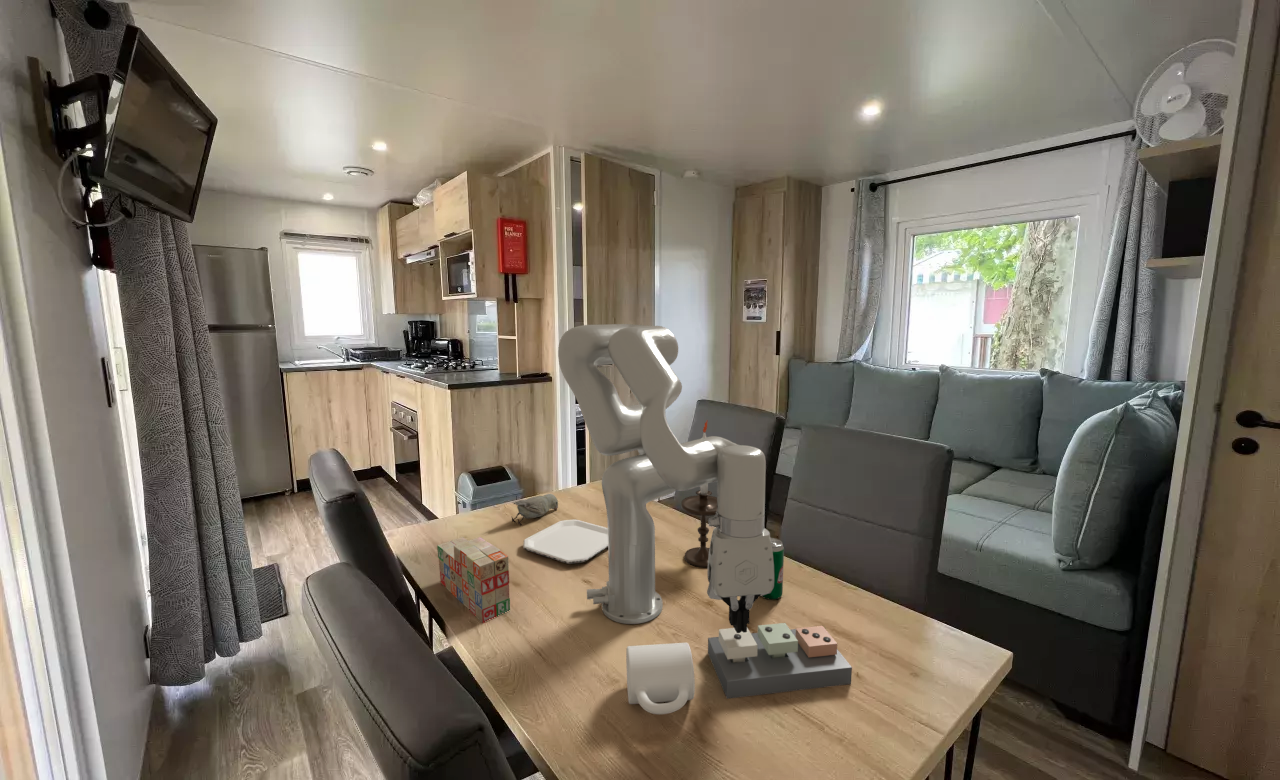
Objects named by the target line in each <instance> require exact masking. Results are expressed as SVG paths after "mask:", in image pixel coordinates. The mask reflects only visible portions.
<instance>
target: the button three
mask: <svg viewBox="0 0 1280 780" xmlns="http://www.w3.org/2000/svg"><path fill="white" fill-rule="evenodd" d="M795 629H796V636H795V637H796V639H797V640H798V643H799V645H800V646H801V647H802V649H803V650H804V652H805V653H806V654H807V656H808V657H818V656H827V655H837V649H838V642H837V641H836V640H835V639H834V637H833V636H832V635H831V634H830V632H829V631H827V629H826V628H825V627H824V626H823V625H817V626H806V627H804V626H803V627H797V628H795Z"/></svg>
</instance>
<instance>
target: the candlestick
mask: <svg viewBox="0 0 1280 780" xmlns="http://www.w3.org/2000/svg"><path fill="white" fill-rule="evenodd" d="M707 428H708V419H706V422H704V426H703V429H702V431H703V432H702V437H701V438H700V439H702V438H706V437H707V434H706V432H707ZM708 489H709V483H707V484H704V485H701V486H699V490H696V491H695V494H696V495H690V496H688V497H685V498H683V499H682V500H681V503H680V508H681V509H682V511H684V512H686V513H688V514H691V515H694V516H700V526H699V527H698V528H697V532H698V534H699V537H698V542H699V544H700V546H697V547H691V548H689V549H687V550H686V551H685V552H684V560H685V562H686V563H687V564H688V565H690V566H692V567H695V568H703V569H708V557H709V549H710V547H707V542H708V541H709V538H708V537H707V536H708V534H709V533H710V528H709V527H707V517H711V516H713V517H714V516H715V515H716V511H717V496H712V494H713V493H712V491H711V490H708Z"/></svg>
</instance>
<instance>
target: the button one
mask: <svg viewBox="0 0 1280 780" xmlns="http://www.w3.org/2000/svg"><path fill="white" fill-rule="evenodd" d="M751 633H752V632H751V631H750V630H749V628H748V627H747V632H744V633H743V632H742V631H741V632H740V633H737V632H736V630H735V629H734V627H729V628H720V629H718V637H719V642H720V644H721V646H722V648H723V650H724V653H725V655H726V657H727V659H730V661H731V663H736V662H745V657H755V656H757V643H756V642H755V640H754V638H753V636H752V635H751Z"/></svg>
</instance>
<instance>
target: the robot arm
mask: <svg viewBox="0 0 1280 780" xmlns="http://www.w3.org/2000/svg"><path fill="white" fill-rule="evenodd" d="M678 354H679V344H678V341H677V339H676V336H675V335H674V334H673V332H672V331H671V330H669V329H668V328H667V327H665V326H662V325H644V324H643V325H642V324H631V323H613V324H612V323H611V324H610V323H609V324H608V323H607V324H606V323H605V324H584V325H582V324H581V325H578V326H575V327H572V328H569V329H568V330H566V331H565V332H564V333H563V334H562V336H561V337H560V340H559V343H558V348H557V358H558V365H559V367H560V372H561V373H562V376H563V378H564V379H565V381H566V383H567V384H568V387H569V388H570V390H571V391H572V392H571V393H572V394H573V395H574V397H575V399H576V401H577V403H578V406H579V409H580V412H581V414H582V417H583V420H584V423H585V425H586V428H587V430H588V434H589V435H590V438H591V440H592V444H593V445H594V447H595V449H596V450H597V452H598V453H599V454H600V455H602V456H607V457H608V456H609V457H612V456H618V455H622V454H627V453H629V452H634V451H637V452H638V455H633V456H630V457H626V458H622V459H620V460H617V461H615V462H613V463H611V464H609V465H608V467H606V469H605V470H604V472H603V474H602V477H601V490H602V492H603V493H602V494H603V498H604V503H605V509H606V517H607V519H606V520H607V528H608V547H607V549H608V556H607V557H608V580H606V582H605V583H606V586H602V587H601V588H589V589H586V599H587V600H593V603H592V604H593V605H600V604H601V610H602V612H603V614H604V615H605V616H606V617H607V619H609V620H612V621H614V622H617V623H620V624H625V625H626V624H627V625H637V624H643V623H647V622H650V621H651V620H653V619H655V618H657V617H658V616H659V615H660V614H661V612H662V611H663V605H664V604H663V599H662V596H661V595H660V594H659V593H658V592H657V591H656V535H655V534H656V532H655V531H656V529H655V527H656V526H655V521H654V519H653V517H652V515H651V513H650V512H649V511H648V508H647V504H648V503H651V502H653V501H655V500H657V499H660V498H663V497H666V496H669V495H670V494H674V493H675V492H676V491H680V492H683V491H685V492H686V491H690V490H692V489H695V488H700V486H701V485H704V484H707V483H708V484H711V483H715V482H717V483H716V486H717V487H716V491H717V492H716V497H717V511H716V515H714V516H713V517H709V518H708V519H707V521H708V526H709V527H714V528H713V530H712V534H711V538H710V542H709V548H710V549H709V557H708V568H707V581H708V583H709V584H708V587H707V591H706V593H707V596H708V598H709V599H710V600H715V601H717V600H718V601H723V602H724V603H725V604H726V605H727V606H728V620H729V621H728V622H729V624H730V626H731V627H732V628H734V629H735V630H736V632H737V633H740V632H741V631H742V632H743V633H744V632H747V628H748V625H749V624H750V610H751V609H752V608H753V606H754V603H755V602H756V601H757V600H758V599H759V598H760V597H762V596H763V595H766V594H769V593H771V592H772V590H773V588H774V562H773V552H772V544H771V538H772V537H771V533H770V531H769V530H768V529H766V528H765V515H766V514H765V512H766V511H765V509H766V507H765V506H766V505H765V504H766V469H767V468H766V466H767V465H766V464H767V463H766V456H765V453H764V452H763V451H762V450H761V449H759V448H758V447H755V446H750V445H745V444H744V445H743V444H741V445H740V444H737V443H735V442H732V440H729V439H727V438H724V437H721V436H718V435H717V436H716V435H715V436H714V435H711V436H706V438H702V437H701V438H702V439H701V438H697V439H693V440H689V441H686V442H681V443H680V442H679V440H678V438H677V437H676V435H674V432H673V431H672V429H671V428H670V425H669V423H668V420H667V415H666V409H668V408H669V407H670V406H672V404H673V403H675V401H676V400H677V399H678V398H679V396H681V395H680V394H681V393H682V389H683V385H682V382H681V380H680V379H679V377H678V376H677V375H676V373H675V371H674V370H673V369H672V367H671V365H673V363H675V361H676V360H677V357H678ZM604 365H605V366H606V365H614V366H615V368H616V369H617V371H618V372H619V374H620V375H621V377H622V379H623V380H624V381H625V383H626V385H627V386H628V387H629V390H630V391H631V393H632V395H633V396H634V398H635V399H636V401H637V402H638V404H634V405H633V404H632V405H628V406H626V405H624V403H623V402H622V400H621V397H620V395H619V393H618V390H617V388H616V386H615V384H614V383H613V381H611V380H610V378H609V377H608V376H607V374H605V373H603V372H602V371H601V370H600V369H598V366H604ZM769 579H770V580H769ZM738 597H739V599H738Z"/></svg>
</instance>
